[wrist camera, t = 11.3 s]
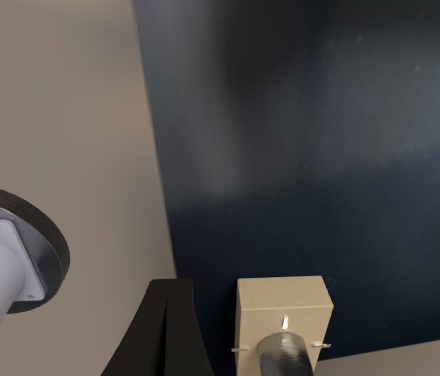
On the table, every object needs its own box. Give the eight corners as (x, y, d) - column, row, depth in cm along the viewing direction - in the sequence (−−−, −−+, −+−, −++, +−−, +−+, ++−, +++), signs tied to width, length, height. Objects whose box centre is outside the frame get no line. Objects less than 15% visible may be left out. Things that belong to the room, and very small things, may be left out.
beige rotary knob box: (309, 343, 31) (319, 376, 29) (228, 347, 31) (230, 381, 28) (328, 274, 26) (342, 307, 23) (229, 278, 26) (233, 312, 23)
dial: (308, 331, 25) (324, 382, 22) (301, 359, 27) (314, 408, 24) (258, 333, 25) (267, 384, 22) (255, 360, 27) (262, 411, 24)
